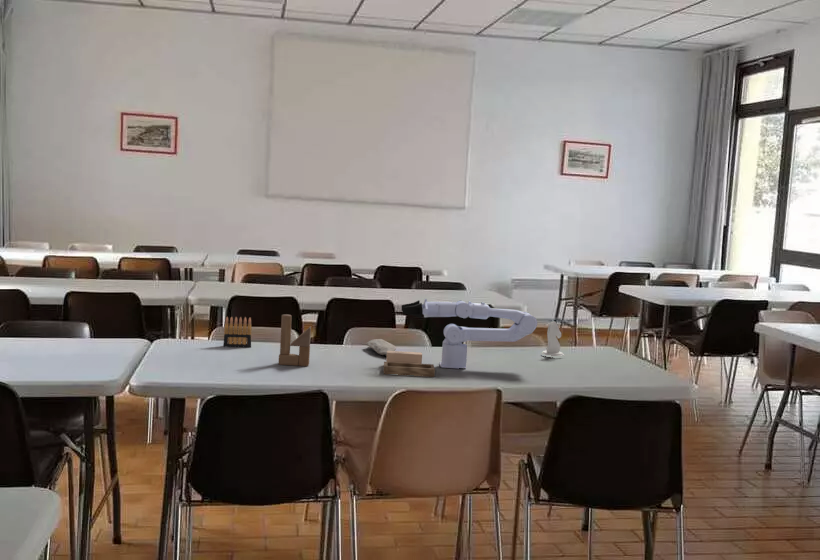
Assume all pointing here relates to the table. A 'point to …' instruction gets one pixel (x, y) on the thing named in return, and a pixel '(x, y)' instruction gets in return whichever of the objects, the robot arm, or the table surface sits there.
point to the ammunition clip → (237, 333)
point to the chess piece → (553, 340)
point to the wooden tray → (409, 369)
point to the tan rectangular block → (404, 357)
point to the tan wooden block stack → (293, 344)
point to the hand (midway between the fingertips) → (402, 309)
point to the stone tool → (381, 346)
